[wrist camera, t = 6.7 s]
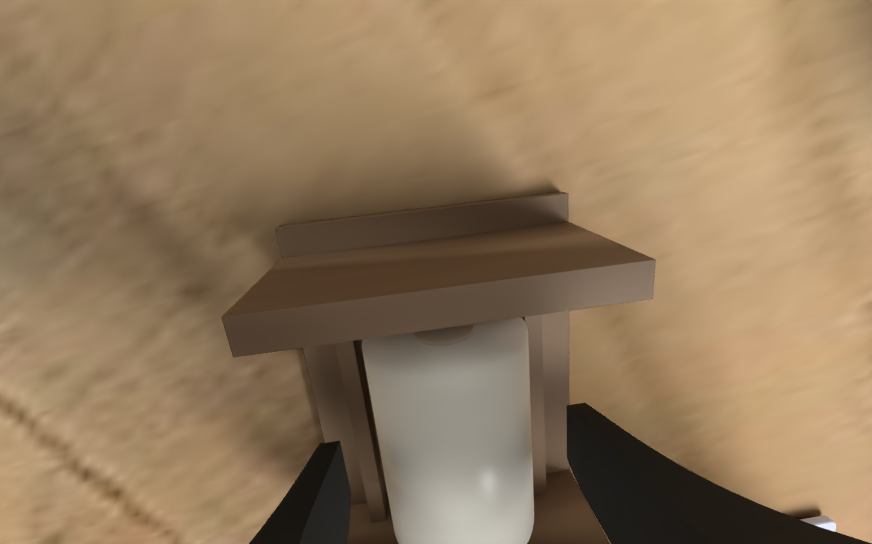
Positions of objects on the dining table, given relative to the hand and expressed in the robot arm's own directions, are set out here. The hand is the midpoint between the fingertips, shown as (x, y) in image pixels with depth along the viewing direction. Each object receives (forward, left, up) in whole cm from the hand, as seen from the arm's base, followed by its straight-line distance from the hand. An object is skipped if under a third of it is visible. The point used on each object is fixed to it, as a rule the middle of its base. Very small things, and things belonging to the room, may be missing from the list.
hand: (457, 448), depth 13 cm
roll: (0, 0, -3) cm, 3 cm away
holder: (0, 0, -4) cm, 4 cm away
